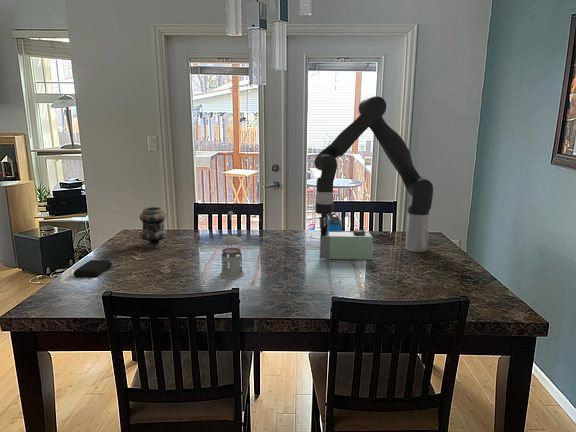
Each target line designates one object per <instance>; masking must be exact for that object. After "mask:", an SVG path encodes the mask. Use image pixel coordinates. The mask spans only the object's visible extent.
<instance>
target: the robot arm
mask: <svg viewBox="0 0 576 432" xmlns="http://www.w3.org/2000/svg"><path fill="white" fill-rule="evenodd" d="M386 111H387V102H386V100H385V99H384V98H383V97H382V96H378V95H374V96H371V97H368V98H365V99H363V100H361V101H360V103H359V105H358V113H359V115H358V117H357V118H356V119H355V120H353V121H352V122H351V123H350V124H349V125H348V126H347V127H346V128H344V129H343V130H342V131H341V132H339V134H338V135H337V136H336V137H335V139H334V140H333V141H332V142H331V143H330V144H329V145H328V146H326V147H325V148H324V149H322V150H321V151H320V152H319V153H318V154H317V156H316V157H315V159H314V163H313V164H314V167H315V168H316V170H319V171H321V174H320V177H318V178H317V179H316V192H315V193H316V194H315V207H314V208H315V211H314V212H315V213H316V214H318V215H319V218H318V220H319V230H320V231H319V232H320V235H321V236H326V233H327V228H328V222H329V218H328V217H327V215H328V214H332V213H334V181H335V177H336V173H337V170H338V161H337V158H338V157H342V156H344V155H345V154H346V153H347V152H348V150H349V149H350V148H352V146H353V145H354V143H355V142H356V141H357V140H358V139H359V137H360V136H362V135H363V133H365V131H366V130H368V129H370V130H371V132H372V133H373V134H374V136H375V138H376V140H377V141H378V144H380V146H381V148H382V150H383V151H384V153H385V155H386V157H387V158H388V160H389V161H390V163H391V164H392V166H393V167H394V168H395V170H396V171H397V173H398V174H399V176H400V178H401V180H402V182H403V184H404V187H405V189H406V191H407V193H408V194H409V195H410V196H411V198H412V199H411V204H410V205H409V206H408V207H407V219H406V232H405V233H406V235H405V247H404V248H405V250H406V251H409V252H412V253H423V252H428V246H429V235H430V233H429V232H430V231H429V230H428V228H429V218H430V209H431V208H432V204H433V196H434V186H433V183H432V182H431V181H430V180H429V179H426V178H423V177H422V176H421V175H420V174H419V173H418V171H417V170H416V168H415V166H414V164H413V160H412V155H411V151H410V150H409V148H408V145H406V143H405V140H404V139H403V138H402V137H401V135H399V133H397V132H396V131H395V130H394V129H393V128H392V127H390V126H389V125H388V123H387V122H386V121H385V119H384V117H383V116H384V114H385V113H386Z"/></svg>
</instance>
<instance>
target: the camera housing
mask: <svg viewBox="0 0 576 432" xmlns="http://www.w3.org/2000/svg"><path fill="white" fill-rule="evenodd" d="M329 236H372V234H371V233H370V232H368V231H365V230H362V229H355V230H353V231H342V232H329ZM357 260H358V261H359V260H360V261H361V260H365V261H367V259H357Z"/></svg>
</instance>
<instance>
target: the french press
mask: <svg viewBox="0 0 576 432" xmlns="http://www.w3.org/2000/svg"><path fill="white" fill-rule="evenodd" d="M227 214H228V215H229V217H230V219H232V216H233V215H234V212H233V210H230V211H228V212H227ZM242 242H243V239H242V238H240V237H239V236H236V235H232V233H230V235H228V236H225V237H222V238H221V239H220V243H222V244H223V245H226V246H227V247H226V248H225V247H224V248H223V249H222V250H221V252H222V253H221V255H220V256H221V257H220V258H221V272H220V273H219V275H220V276H219V277H220V278H221V277H222V279H224V278H225V280H236V279H237V280H238V279H241V278H242V277H245V275H246V274H245V272H244V270H243V254H242V252H241V251H242V250H241V249H240V248H238V247H233V245H237V244H238V245H239V244H240V243H242ZM229 246H230V247H229Z"/></svg>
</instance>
